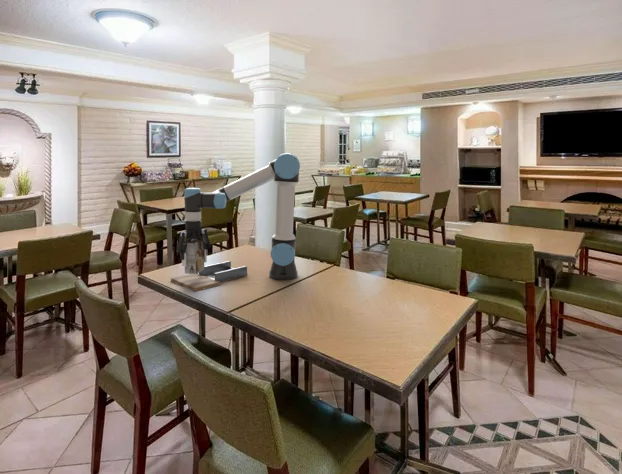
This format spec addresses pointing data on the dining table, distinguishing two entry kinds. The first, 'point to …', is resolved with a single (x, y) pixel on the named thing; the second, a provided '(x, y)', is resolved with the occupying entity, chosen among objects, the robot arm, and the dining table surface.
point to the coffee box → (194, 256)
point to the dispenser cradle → (224, 271)
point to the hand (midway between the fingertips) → (194, 263)
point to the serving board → (195, 281)
